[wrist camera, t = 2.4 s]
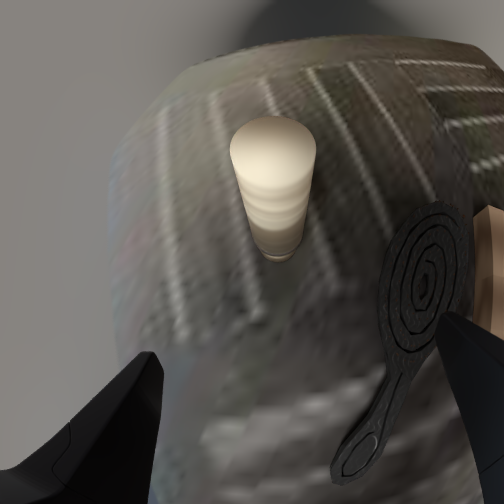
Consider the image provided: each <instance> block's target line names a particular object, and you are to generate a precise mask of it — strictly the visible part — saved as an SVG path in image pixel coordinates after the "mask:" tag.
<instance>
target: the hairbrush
mask: <svg viewBox="0 0 504 504" xmlns="http://www.w3.org/2000/svg"><path fill="white" fill-rule="evenodd" d="M453 206H454V205H453ZM453 206H452V207H451V204H450V206H449V205H447V204H444V201H443V203H442V202H440V200H439V201H437V202H436V201H435V202H434V203H431V204H427V205H425V206H423V207H420V208H417V209H416V210H415V211H414V212H412V214H411V215H410V216H409V218H408V219H407V220H406V221H405V222H404V223H403V224H402V226H401V228H400V229H399V231H398V232H397V233H396V235H395V236H394V237H393V238H392V240H391V242H390V245H389V248H388V251H387V254H386V256H385V260H384V264H383V268H382V272H381V276H380V280H379V292H378V305H377V312H378V317H379V319H378V326H379V322H380V328H381V332H380V334H381V339H382V343H383V347H384V353H385V360H386V367H387V378H386V380H385V382H384V384H383V386H382V388H381V390H380V392H379V394H378V396H377V398H376V400H375V402H374V404H373V406H372V407H371V409H370V411H369V413H368V415H367V416H366V417H365V418H364V420H363V421H362V422H361V423H360V424H359V426H358V427H357V428H356V429H355V430H354V432H353V433H352V434H351V435H350V436H349V437H348V438H347V439H346V441H345V442H344V443H343V444H342V445H341V447H340V449H339V451H338V452H337V454H336V456H335V458H334V460H333V462H332V464H331V465H332V467H331V471H330V474H331V479H332V483H335V484H338V485H345V484H347V483H349V482H351V481H353V480H356V479H358V478H360V477H362V476H363V475H364V474H365V473H366V472H367V471H368V470H369V469H370V467H371V466H372V465H373V464H374V463H375V462H376V461H377V459H378V458H379V457H380V456H381V454H382V452H383V450H384V448H385V445H386V443H387V440H388V438H389V436H390V433H391V430H392V428H393V425H394V423H395V421H396V419H397V416H398V414H399V412H400V409H401V407H402V404H403V402H404V399H405V397H406V394H407V392H408V389H409V386H410V384H411V381H412V380H413V378H414V377H415V375H416V374H417V372H418V370H419V369H420V367H421V366H422V364H423V362H424V361H425V360H426V359H427V357H428V356H429V355H430V354H431V352H432V351H433V350H434V349H435V347H436V346H437V344H436V341H435V337H434V333H435V329H436V326H437V323H438V320H439V317H440V315H441V314H442V313H445V312H449V311H453V312H455V313H456V310H457V308H458V305H459V303H460V300H461V297H462V293H463V289H464V285H465V280H466V275H467V270H468V254H469V233H468V232H467V230H466V228H465V225H467V224H465V225H464V223H463V220H462V219H461V217H460V215H459V213H458V208H457V209H456V208H454V207H453ZM433 215H435V216H433ZM429 216H432V217H431V218H429V219H427V220H425V221H422V222H421V223H419V224H418V225H417V226H416V227H415V228H414V229H413V230H412V232H411V233H410V234H409V235H408V233H409V231H410V230H411V228H412V227H413V226H414V225H416V224H417V223H418V222H420V221H421V220H423V219H425V218H427V217H429ZM463 217H465V216H464V214H463ZM433 226H436V227H435V228H433V229H430V230H428V231H426V232H425V233H424V234H423V235H422V236H421V237H420V238H419V239H418V240H416V239H417V238H418V236H419V235H420V234H421V233H422V232H424V231H425V230H426V229H428V228H430V227H433ZM407 235H408V236H407ZM415 241H416V242H415ZM413 244H414V245H413ZM429 245H433V246H431V247H429V248H427V249H426V250H424V248H425V247H427V246H429ZM411 247H412V248H411ZM410 249H411V250H410ZM423 250H424V251H423ZM422 251H423V252H422ZM395 259H396V260H395ZM407 260H408V261H407ZM394 261H395V264H394ZM393 264H394V267H393ZM393 268H394V269H393ZM392 270H393V272H392ZM404 270H405V271H404ZM414 270H415V271H414ZM413 273H414V274H413ZM423 274H424V275H425V274H426V275H427V280H426V281H427V289H426V292H425V295H424V298H423V299H422V300H420V296H419V291H418V288H420V286H419V284H420V282H421V279H422V277H423ZM426 275H425V276H426ZM402 277H403V279H402ZM390 280H391V281H390ZM401 280H402V284H401V289H400V283H401ZM411 280H412V283H411ZM434 282H435V283H434ZM389 285H390V286H389ZM388 289H389V298H388V301H387V294H388ZM432 292H433V293H432ZM431 295H432V297H431ZM410 297H411V300H410ZM430 298H431V300H430ZM439 299H440V300H439ZM429 300H430V303H429V305H428V307H427V304H428V302H429ZM438 302H439V303H438ZM437 305H438V306H437ZM413 306H414V307H415V309H416V310H423V311H422V312H415V309H414V307H413ZM426 307H427V309H426ZM436 308H437V309H436ZM424 309H425V310H424ZM435 311H436V312H435ZM434 314H435V315H434ZM400 316H401V319H402V321H403V322H402V321H401V319H400ZM388 320H389V322H388ZM430 321H431V322H430ZM429 322H430V324H429V326H428V327H427V328H426V329H424V328H425V327H426V326H427V324H428V323H429ZM389 323H390V326H389ZM390 327H391V329H390ZM423 329H424V330H423ZM379 330H380V329H379ZM422 330H423V331H422ZM409 331H410V332H412V333H420V332H421V331H422V332H421V333H420V334H417V335H410V333H409ZM394 338H395V340H396V341H395V340H394ZM395 342H396V343H397V345H398V346H399V347H398V346H396V343H395ZM425 343H426V344H425ZM424 344H425V345H424ZM422 345H423V346H422ZM421 346H422V347H421ZM419 347H420V348H419ZM417 348H419V349H418V350H417V351H414V350H416V349H417ZM402 349H404V350H406V351H407V350H408V351H410V352H405V351H403V350H402ZM342 466H343V467H342ZM342 471H343V473H344V474H342Z"/></svg>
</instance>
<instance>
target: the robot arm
mask: <svg viewBox="0 0 504 504" xmlns="http://www.w3.org/2000/svg"><path fill="white" fill-rule="evenodd" d="M434 337H435V341H436V344H437V347H438V350H439V353H440V356H441V360H442V363H443V366H444V369H445V373H446V376H447V378H448V381H449V384H450V386H451V389H452V391H453V394H454V396H455V399H456V402H457V405H458V407H459V410H460V413H461V416H462V419H463V422H464V425H465V428H466V431H467V434H468V437H469V441H470V444H471V447H472V451H473V454H474V458H475V462H476V466H477V470H478V474H479V479H480V483H481V488H482V493H483V498H484V504H504V340H503V339H501V338H499V337H497V336H496V335H494V334H492V333H490V332H489V331H487V330H485V329H483V328H482V327H480V326H478V325H476V324H475V323H473V322H471V321H469V320H467V319H466V318H464V317H462V316H460V315H458V314H457V313H455V312H453V311H449V312H445V313H442V314H441V315H440V317H439V320H438V323H437V326H436V329H435V333H434ZM163 381H164V370H163V368H162V366H161V364H160V362H159V360H158V358H157V356H156V354H155V353H154V352H152V351H143V352H140V353H139V354H138V355H137V356H136V357H135V358H134V359H133V360H132V361H131V362H130V363H129V364H128V365H127V366H126V367H125V368H124V369H123V370H122V371H121V372H120V373H119V374H117V375H116V376H115V378H113V379H112V380H111V381H110V382H109V383H108V384H107V385H106V386H105V387H104V388H103V389H102V390H101V391H100V392H99V393H98V394H97V395H96V396H95V397H94V398H93V399H92V400H91V401H90V402H89V403H88V404H87V405H86V406H85V407H84V408H82V410H80V412H78V413H77V414H76V415H75V416H74V417H73V418H72V419H71V420H70V422H68V423H67V424H66V425H65V426H64V427H63V428H62V429H61V430H60V431H59V432H58V433H57V434H55V435H54V436H53V437H52V438H51V439H50V440H49V441H48V442H46V443H45V444H44V445H43V446H42V447H40V448H39V449H38V450H37V451H35V452H34V453H33V454H31V455H30V456H29V457H28V458H26V459H25V460H24V461H22V462H21V463H20V464H18V465H17V466H15V467H13V468H11V469H7V470H0V504H147V503H148V495H149V488H150V481H151V474H152V467H153V460H154V454H155V448H156V442H157V436H158V430H159V425H160V419H161V409H162V394H163Z"/></svg>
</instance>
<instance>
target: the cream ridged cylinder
mask: <svg viewBox="0 0 504 504" xmlns="http://www.w3.org/2000/svg"><path fill="white" fill-rule="evenodd" d="M230 154H231V158H232V162H233V166H234V169H235V173H236V177H237V180H238V184H239V188H240V191H241V195H242V199H243V202H244V206H245V210H246V213H247V217H248V221H249V224H250V228H251V234H252V238H253V241H254V243H255V245H256V246H257V248H258V249H259V250H260V251H261V253H262V254H263V256H264V257H265V258H266V259H268V260H270V261H272V262H284V261H286V260H288V259H290V258H291V257H292V256H293V255H294V253H295V251H296V249H297V247H298V246H299V245H300V243H301V241H302V238H303V233H304V224H305V218H306V212H307V206H308V200H309V194H310V188H311V182H312V175H313V169H314V162H315V155H316V143H315V140H314V138H313V136H312V134H311V133H310V131H309V130H308V129H307V128H306V127H305V126H303V125H302V124H301V123H299V122H297V121H295V120H292V119H290V118H286V117H280V116H267V117H261V118H258V119H255V120H252V121H250V122H248V123H246V124H245V125H244V126H242V127H241V128H240V129H239V130H238V131H237V132H236V133H235V135H234V137H233V139H232V141H231V145H230Z"/></svg>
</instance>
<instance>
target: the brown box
mask: <svg viewBox="0 0 504 504" xmlns="http://www.w3.org/2000/svg"><path fill="white" fill-rule="evenodd" d="M473 226H474V242H475V294H474V310H473V323H475V324H476V325H478V326H480V327H482V328H483V329H485V330H487V331H489V332H490V333H492V334H494V335H496V336H497V337H499V338H501V339H503V340H504V211H502V210H500V209H497V208H495V207H492V206H490V205H488V206H486V207H485V208H484V209H483V210H482V211H480V212H479V213H478V214H477V215H476V216H474V217H473Z"/></svg>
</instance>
